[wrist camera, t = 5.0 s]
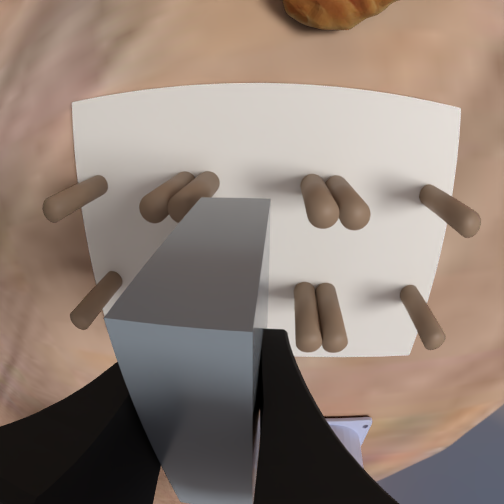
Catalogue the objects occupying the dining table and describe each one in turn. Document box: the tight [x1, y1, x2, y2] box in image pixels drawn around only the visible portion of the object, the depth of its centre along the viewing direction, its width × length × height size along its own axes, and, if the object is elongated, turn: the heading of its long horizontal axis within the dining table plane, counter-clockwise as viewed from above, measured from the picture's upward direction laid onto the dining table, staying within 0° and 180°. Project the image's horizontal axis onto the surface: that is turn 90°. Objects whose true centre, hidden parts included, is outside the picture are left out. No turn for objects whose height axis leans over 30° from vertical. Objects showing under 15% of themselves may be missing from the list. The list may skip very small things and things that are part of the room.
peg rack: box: [43, 83, 481, 357], centre depth 16 cm, size 16×21×6 cm
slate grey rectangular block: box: [104, 197, 271, 504], centre depth 10 cm, size 8×2×7 cm, turn 0°
